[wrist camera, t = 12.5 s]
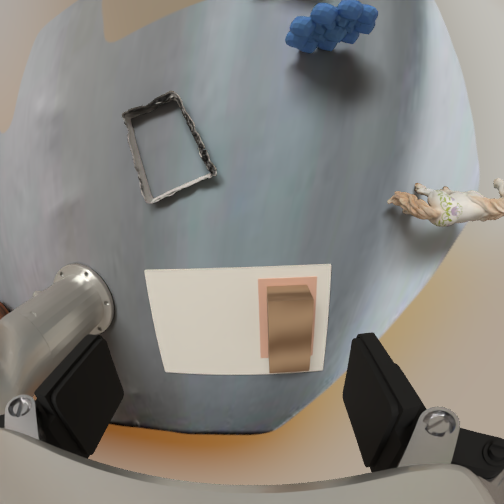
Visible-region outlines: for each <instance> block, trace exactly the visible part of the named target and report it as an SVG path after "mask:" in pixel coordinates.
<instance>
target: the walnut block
mask: <svg viewBox="0 0 504 504" xmlns="http://www.w3.org/2000/svg"><path fill="white" fill-rule="evenodd" d="M313 306H314V299H313V297H312V294H311V292H310V290H309V288H308V286H307V285H287V286H267V316H268V355H269V373H286V372H301V371H309V369H310V357H311V342H312V326H313Z"/></svg>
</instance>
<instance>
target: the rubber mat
mask: <svg viewBox="0 0 504 504" xmlns="http://www.w3.org/2000/svg"><path fill="white" fill-rule="evenodd" d="M145 278H146V284H147V290H148V295H149V301H150V306H151V312H152V317H153V321H154V326H155V331H156V335H157V340H158V344H159V349H160V353H161V357H162V361H163V365H164V369H165V372H173V373H189V374H217V375H253V374H281V373H269V355H268V316H267V286H287V285H307V286H308V288H309V290H310V292H311V294H312V297H313V299H314V306H313V326H312V342H311V357H310V369H309V371H301V372H310V371H321V370H323V364H324V355H325V346H326V335H327V324H328V312H329V298H330V281H331V264H316V265H292V266H265V267H235V268H200V269H156V270H145ZM286 373H297V372H286Z"/></svg>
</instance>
